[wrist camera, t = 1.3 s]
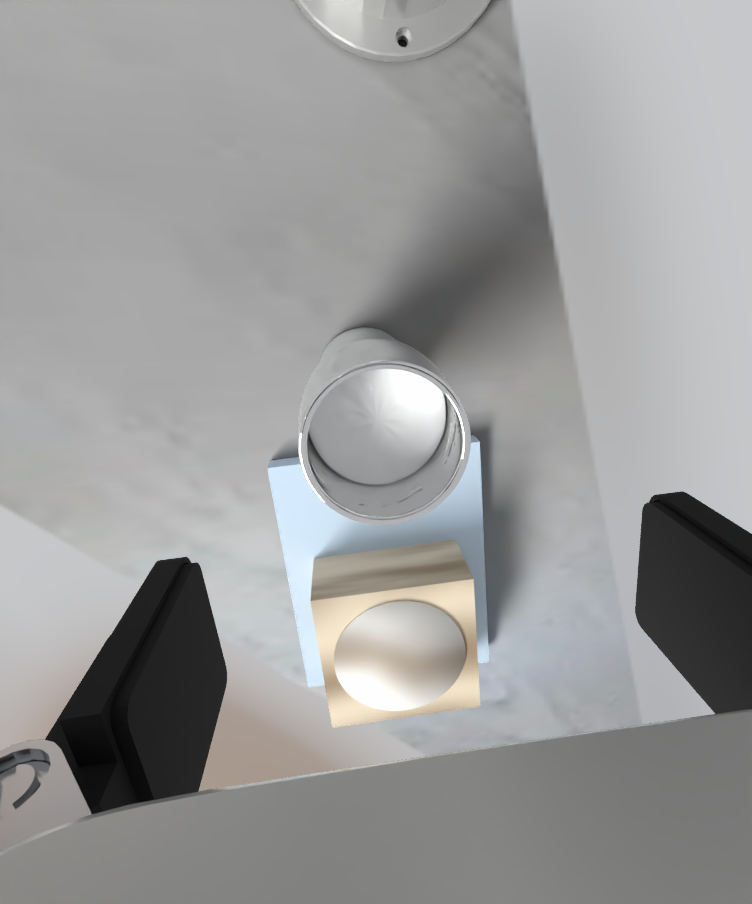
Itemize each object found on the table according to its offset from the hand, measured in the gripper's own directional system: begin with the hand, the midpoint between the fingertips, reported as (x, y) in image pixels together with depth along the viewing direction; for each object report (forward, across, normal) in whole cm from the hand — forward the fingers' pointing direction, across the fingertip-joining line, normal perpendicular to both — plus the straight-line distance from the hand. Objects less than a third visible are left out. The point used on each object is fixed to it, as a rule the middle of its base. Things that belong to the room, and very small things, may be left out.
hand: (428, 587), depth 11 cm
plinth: (+22, 0, +17) cm, 28 cm away
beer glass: (+24, 0, 0) cm, 24 cm away
